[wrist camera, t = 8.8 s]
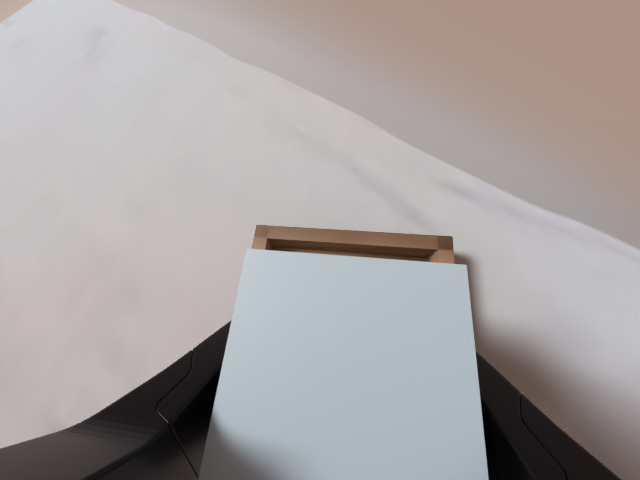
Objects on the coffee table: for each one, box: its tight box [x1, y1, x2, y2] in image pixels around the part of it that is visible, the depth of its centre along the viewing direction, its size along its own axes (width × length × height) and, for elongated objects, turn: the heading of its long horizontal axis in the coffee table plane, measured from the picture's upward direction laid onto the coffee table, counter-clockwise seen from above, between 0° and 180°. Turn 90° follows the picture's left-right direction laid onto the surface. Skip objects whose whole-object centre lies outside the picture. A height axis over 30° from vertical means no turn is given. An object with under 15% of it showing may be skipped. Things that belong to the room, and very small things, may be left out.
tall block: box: [198, 249, 489, 480], centre depth 10 cm, size 5×6×10 cm
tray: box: [252, 225, 455, 264], centre depth 16 cm, size 14×14×3 cm
